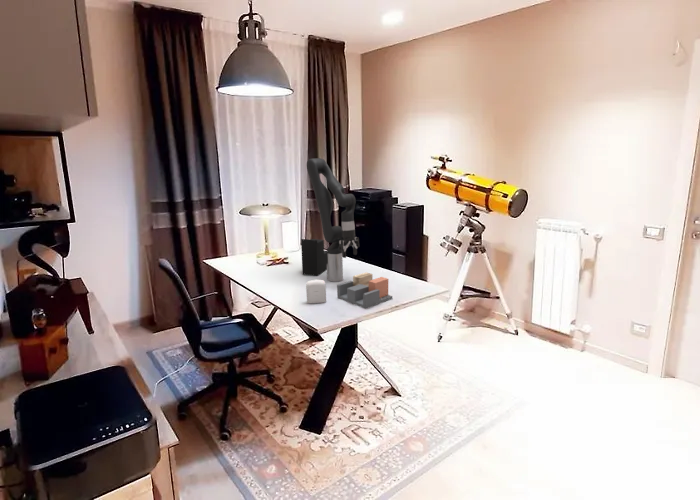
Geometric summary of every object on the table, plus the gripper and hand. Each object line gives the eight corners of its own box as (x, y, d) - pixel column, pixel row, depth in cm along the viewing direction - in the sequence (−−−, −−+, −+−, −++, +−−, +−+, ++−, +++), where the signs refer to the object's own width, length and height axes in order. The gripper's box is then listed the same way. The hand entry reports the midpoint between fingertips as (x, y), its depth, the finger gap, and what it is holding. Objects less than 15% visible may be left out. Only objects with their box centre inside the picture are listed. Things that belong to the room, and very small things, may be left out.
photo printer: (306, 304, 224) (305, 281, 220) (306, 301, 228) (305, 279, 225) (326, 303, 224) (325, 280, 221) (326, 300, 229) (325, 278, 226)
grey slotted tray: (337, 297, 232) (337, 284, 230) (363, 289, 245) (363, 276, 243) (365, 308, 216) (365, 294, 214) (392, 298, 229) (392, 285, 227)
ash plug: (353, 291, 236) (353, 276, 233) (366, 287, 242) (366, 272, 240) (359, 293, 232) (359, 278, 230) (372, 289, 239) (372, 274, 236)
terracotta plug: (368, 297, 227) (368, 280, 225) (381, 292, 234) (381, 276, 231) (375, 299, 223) (375, 283, 221) (388, 294, 230) (388, 278, 228)
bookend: (317, 265, 294) (316, 231, 289) (331, 266, 291) (330, 232, 285) (302, 275, 273) (300, 239, 267) (317, 276, 269) (316, 240, 264)
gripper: (352, 226, 253) (354, 253, 256) (334, 230, 244) (336, 257, 247) (361, 227, 248) (363, 254, 251) (343, 231, 238) (345, 259, 241)
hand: (349, 256), depth 249 cm, fingers open, 8 cm apart
